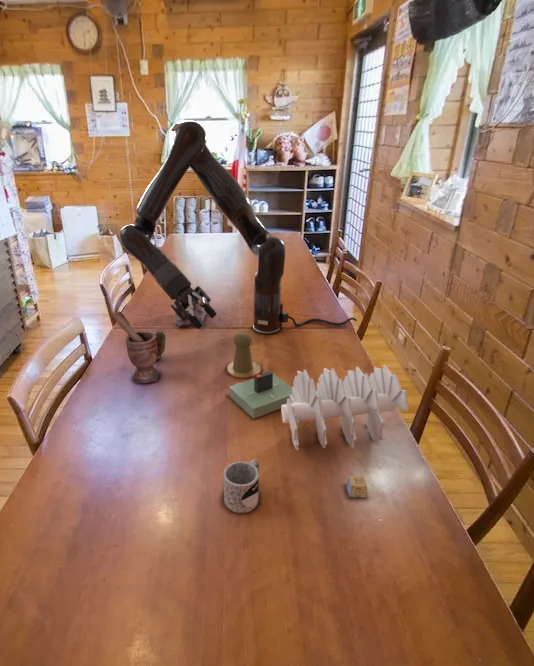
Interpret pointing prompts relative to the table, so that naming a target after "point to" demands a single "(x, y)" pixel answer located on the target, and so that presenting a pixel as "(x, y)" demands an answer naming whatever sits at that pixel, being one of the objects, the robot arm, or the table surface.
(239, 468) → the grey thin strip
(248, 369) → the olive round-headed cylinder
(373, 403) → the spiral staircase
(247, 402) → the control panel
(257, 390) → the black block red tip
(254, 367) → the coaster
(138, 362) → the mortar and pestle
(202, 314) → the geode
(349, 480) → the alphabet block
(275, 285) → the robot arm
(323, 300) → the table surface
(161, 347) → the ornate metal bell
